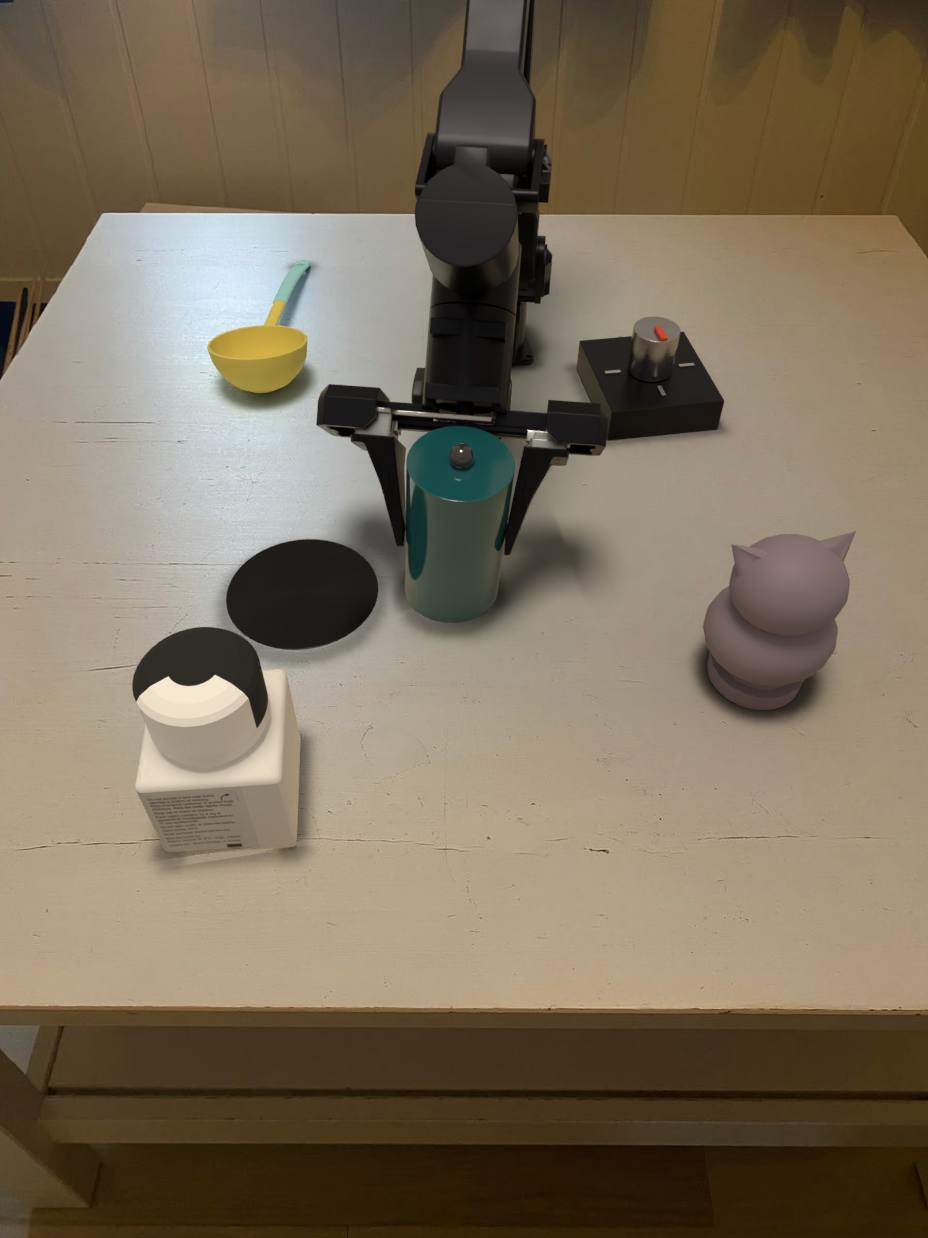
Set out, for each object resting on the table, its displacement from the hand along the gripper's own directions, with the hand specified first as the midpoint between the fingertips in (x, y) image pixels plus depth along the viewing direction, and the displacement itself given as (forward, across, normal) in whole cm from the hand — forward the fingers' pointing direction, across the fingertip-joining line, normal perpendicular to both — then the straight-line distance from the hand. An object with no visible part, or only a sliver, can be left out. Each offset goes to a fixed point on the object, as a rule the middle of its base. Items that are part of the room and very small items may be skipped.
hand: (453, 550), depth 63 cm
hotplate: (+4, +11, -5) cm, 13 cm away
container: (+16, +12, +7) cm, 21 cm away
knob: (-18, -14, -22) cm, 32 cm away
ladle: (-20, +21, -29) cm, 41 cm away
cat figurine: (+7, -21, -2) cm, 22 cm away
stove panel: (-15, -14, -25) cm, 32 cm away
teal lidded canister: (+3, 0, -6) cm, 6 cm away
